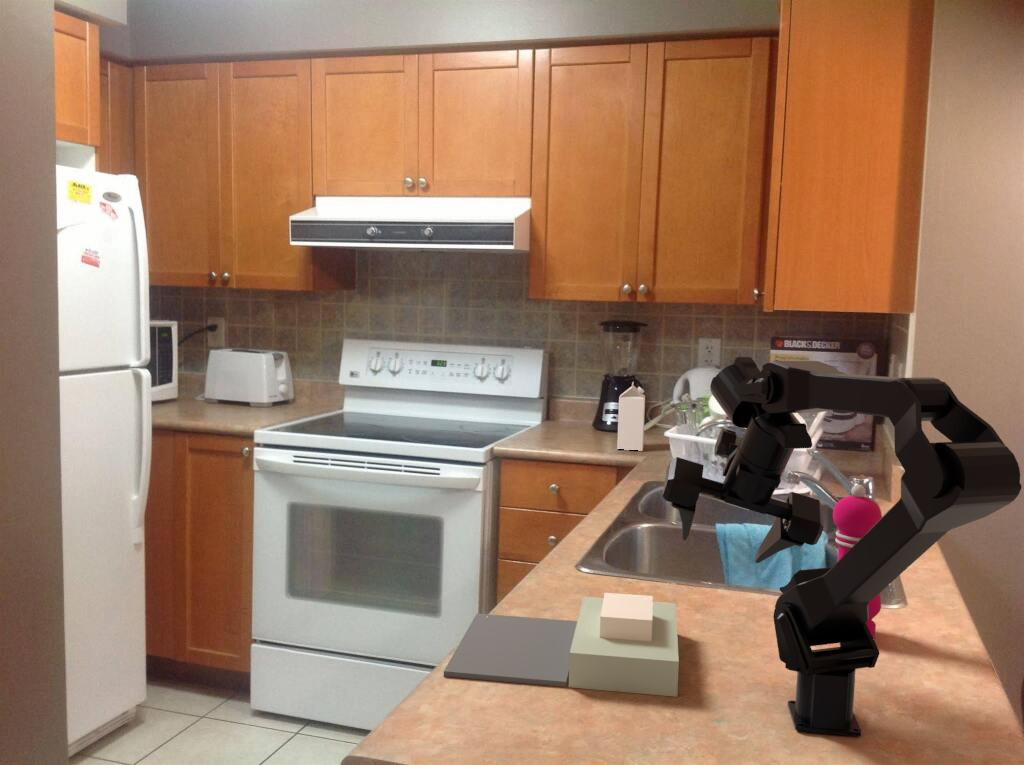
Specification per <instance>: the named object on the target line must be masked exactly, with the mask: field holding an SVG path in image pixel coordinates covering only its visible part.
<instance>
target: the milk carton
mask: <svg viewBox="0 0 1024 765" xmlns="http://www.w3.org/2000/svg"><path fill="white" fill-rule="evenodd" d="M634 383H635V382H634V381H632V383H631V386H630V387H628V388H627V389H626V390H624V392H623V393H621V394H620V395H619V397H618V417H617V441H616V442H617V444H616V445H617V446H616V450H617V449H624V450H623V451H629V450H638V451H637V452H643V451H644V439H645V438H644V437H645V412H646V411H645V410H646V395H645V394H644V393H645V390H644V389H643V388H642V387H640V386H638V387H636V386H635V385H634Z"/></svg>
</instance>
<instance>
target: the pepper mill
mask: <svg viewBox="0 0 1024 765" xmlns="http://www.w3.org/2000/svg"><path fill="white" fill-rule="evenodd" d="M850 491H851V494H852V495H851V496H850V495H849V496H845V497H842V498H840V500H838V502H836V504H835V506H834V507H833V511H832V519H833V523H834V524H835V526H836V527H837V530H836V532H835V535H836V537H835V539H834V540H835V543H836V544H838V547H837V548H838V554H837V562H838V561H839V560H840V559H841V558H842V557H843V556H844V555H845V554H846V553H847V552H848V551H849V550H850V549H851V548H852V547H853V546H854V545H855V544H856V543H857V542H858V541H859V540H860V539H861V538H862V537H863V536H864V535H865V534H866V533H867V532H868V531H869V530H870V529H871V528H872V527H873V526H874V525H875V524H876V523H877V522H878V521H879V520H880V519H881V518H882V517H883V515H882V511H881V509H880V507H879V505H878V504H877V502H875V501H874V500H872V499H871V498H868V497H865V496H866V492H867V489H866V488H865V487H864V486H863V485H861V484H855V485H853V486H852V488H851V490H850ZM837 562H836V563H837ZM881 599H882V598H881V592H880V593H879V594H878V595H877V596H876V597H875V598H873V599H872V600H871V601H870V602H869V604H868V613H869V618H868V621H867V622H866V625H867V627H868V629H869V631H870V633H871V635H872V637H873V639H874V640H875V638H876V628H877V627H876V623H875V621H874V620H873V619H874V618H875V617H876V616H878V614H879V613H880V612H881V609H882V600H881Z"/></svg>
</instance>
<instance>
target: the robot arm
mask: <svg viewBox="0 0 1024 765" xmlns="http://www.w3.org/2000/svg"><path fill="white" fill-rule="evenodd" d="M709 387H710V392H711V395H712V396H713V398H714V399H715V400H716V402H717V403H718V404H719V406H720V408H721V409H722V410H723V412H724V413H725V415H726V416H727V417H728V419H729V421H730V422H731V423H732V424H733V425H734V426H735V427H737V428H741V429H745V431H744V433H743V434H742V437H740V436H738V435H737V433H736V431H734V430H732V429H727V428H724V427H722V428H721V430H720V432H719V434H718V436H717V439H716V442H715V445H714V449H713V450H714V454H715V455H716V456H719V457H722V458H725V460H726V463H725V465H724V466H723V469H722V476H723V477H725V478H724V479H723V483H722V482H718V481H717V480H716V481H715V480H713V479H708V478H705V477H703V475H704V474H703V472H704V466H705V465H704V464H701V463H698V462H695V461H692V460H689V459H685V458H683V457H682V458H681V457H677V456H676V457H674V458H672V459H670V461H669V463H668V466H667V468H666V471H665V477H664V483H663V490H662V498H664V500H665V501H667V502H670V506H671V507H672V508H673V509H677V510H678V512H679V513H678V514H679V516H680V519H681V532H682V540H683V541H685V542H686V541H687V540H688V537H690V533H691V529H692V525H693V521H694V519H695V518H694V517H695V515H696V514H695V513H696V510H697V509H696V508H697V502H698V500H699V497H703V498H706V499H710V500H713V501H717V502H719V503H723V504H726V505H730V506H733V507H736V508H739V509H743V510H745V511H752V512H755V513H759V514H761V515H762V514H763V515H769V516H772V517H775V519H774V522H773V524H772V525H771V527H770V528H769V531H768V532H767V533H766V535H765V537H764V539H763V540H762V542H761V544H760V545H759V547H758V549H757V552H756V554H755V557H754V562H755V564H759V563H761V562H763V561H764V560H765V561H766V560H767V559H768V558H770V557H772V556H773V555H775V554H777V553H779V552H782V551H784V550H786V549H788V548H792V547H794V546H797V547H803V546H804V544H807V545H809V546H814V545H817V544H818V542H819V540H820V538H821V536H822V534H823V531H824V513H823V504H822V503H821V500H820V499H817V498H814V497H812V496H808V495H804V494H801V493H798V492H793V491H791V492H789V493H788V494H787V496H786V499H785V500H783V499H781V498H777V497H774V496H773V495H774V492H775V490H776V489H778V488H779V486H780V483H781V481H782V480H781V478H782V475H783V474H784V471H785V469H786V468H787V465H788V462H789V461H790V459H791V457H792V454H793V453H794V452H793V451H794V450H796V449H799V450H801V449H812V447H813V441H812V438H811V436H810V433H809V431H808V429H807V424H806V423H805V422H804V423H802V422H800V421H799V419H798V418H797V416H795V414H801V413H802V414H804V413H806V414H808V413H809V414H810V413H813V414H814V413H815V414H816V413H823V412H830V411H836V412H844V413H849V414H850V413H851V414H858V415H859V414H860V415H866V416H867V415H868V416H875V417H882V418H887V419H889V420H890V422H891V423H892V426H893V428H894V454H895V456H896V459H897V460H898V462H899V463H900V465H901V467H902V468H903V470H904V472H903V473H902V476H901V478H900V498H899V499H898V500H897V501H896V503H894V504H893V505H892V507H891V508H890V509H888V511H887V512H886V513H885V514H884V515H882V518H881V519H880V520H879V521H878V522H877V523H876V524H875V525H874V526H873V527H872V528H871V529H870V530H869V531H868V532H867V533H866V534H865V535H864V536H863V537H862V538H861V539H860V540H859V541H858V542H857V543H856V544H855V545H854V546H853V547H852V548H851V549H850V550H849V551H848V552H847V553H846V554H845V555H844V556H843V557H842V558H841V559H840V560H839V561H838V562H836V563H835V564H834V565H833V566H831V567H820V568H809V569H800V570H798V571H797V572H796V573H794V574H793V575H792V577H791V579H790V580H789V582H788V583H787V584H786V585H785V586H780V587H779V591H780V592H781V594H780V595H779V596H778V597H777V600H776V602H775V605H774V612H773V615H772V616H773V624H774V629H775V630H774V631H775V637H776V643H777V651H778V656H779V657H778V658H779V661H781V662H782V663H784V664H785V666H784V667H785V669H787V670H788V671H791V672H792V671H793V672H797V674H796V689H795V691H796V693H795V700H791V699H790V700H788V701H787V708H788V712H789V714H790V717H791V718H790V719H791V720H792V723H793V726H794V729H795V730H796V731H799V732H807V733H818V734H827V735H839V736H852V737H861V736H862V729H861V727H860V725H859V722H858V721H857V720H858V719H856V716H855V713H854V702H855V701H854V698H855V686H856V682H855V681H856V671H857V669H864V668H869V669H872V668H875V667H876V664H877V661H878V659H879V656H880V649H879V647H878V646H877V644H876V641H875V638H874V639H873V637H872V635H871V633H870V631H869V629H868V627H867V625H866V622H867V621H868V618H869V613H868V604H869V602H870V601H871V600H872V599H873V598H875V597H876V596H877V595H878V594H879V593H880V594H881V593H882V592H883V591H884V590H885V589H886V588H887V587H888V586H889V585H890V584H891V583H893V581H895V580H896V579H897V578H898V577H899V576H900V575H901V574H902V573H904V572H905V571H906V570H907V569H908V568H909V567H910V566H911V565H913V563H915V562H916V561H917V560H918V559H920V557H921V556H923V555H924V554H925V553H926V552H927V551H928V550H929V549H930V548H932V547H933V545H935V544H936V543H937V542H938V541H939V540H940V539H941V538H943V537H944V536H945V535H946V534H947V533H948V532H950V531H951V530H953V529H957V528H959V527H961V526H965V525H967V524H971V523H973V522H976V521H979V520H981V519H984V518H986V517H989V516H990V515H992V514H994V513H996V512H997V511H999V510H1001V509H1003V508H1004V507H1006V506H1008V505H1010V504H1011V503H1013V502H1014V501H1015V500H1016V498H1017V497H1019V494H1020V492H1021V490H1022V484H1021V471H1020V466H1019V462H1018V461H1017V458H1016V456H1015V455H1014V453H1013V452H1012V451H1011V449H1009V447H1008V446H1006V445H1005V443H1004V441H1003V440H1002V439H1001V437H1000V436H999V434H998V433H997V431H996V430H995V429H994V427H993V426H992V425H991V424H989V423H988V422H987V421H986V420H984V419H983V418H982V417H980V416H979V415H978V414H977V413H975V411H973V410H971V408H969V407H968V406H966V405H965V404H964V403H962V402H961V401H960V400H959V399H958V397H957V396H956V394H955V393H954V391H953V390H952V388H951V386H950V385H949V384H947V383H946V382H945V381H942V380H940V379H939V378H935V377H895V376H894V377H893V376H883V375H881V376H880V375H868V374H867V375H866V374H855V373H854V374H853V373H845V372H842V371H839V369H838V368H837V367H836V366H833V365H831V364H828V363H825V362H822V361H820V360H769V361H766V362H764V363H763V365H762V369H761V370H760V369H759V367H758V365H757V364H756V362H755V360H754V359H753V357H751V356H737V357H735V360H734V361H733V364H731V365H728V366H726V367H724V368H723V369H721V370H720V371H719V372H718V373H717V374H716V376H714V377H713V378H712V380H711V382H710V386H709ZM923 422H930V423H931V425H932V426H933V428H934V429H936V431H938V432H939V433H940V434H942V435H943V436H945V438H947V439H948V441H944V442H943V441H942V442H941V441H940V442H939V441H938V442H930V440H929V439H928V437H927V435H926V433H925V432H924V431H923V428H922V427H923V426H922V424H923ZM949 440H950V441H949ZM831 644H832V645H834V644H839V646H835V647H825V648H818V649H812V647H816V646H823V645H824V646H825V645H831Z"/></svg>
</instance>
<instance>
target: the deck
mask: <svg viewBox="0 0 1024 765" xmlns="http://www.w3.org/2000/svg"><path fill="white" fill-rule="evenodd" d="M603 599H604V597H597V596H596V597H595V596H594V597H593V596H583V597H582V601H581V606H580V610H579V613H578V618H577V620H576V621H577V625H576V629H575V633H574V637H573V641H572V645H571V649H570V658H569V676H568V688H573V689H583V690H585V689H587V690H595V691H596V690H597V691H606V692H607V691H608V692H609V691H610V692H619V693H631V694H641V695H642V694H643V695H652V696H665V697H676V698H677V697H678V689H679V687H678V686H679V663H680V660H679V642H678V641H679V639H678V624H677V623H678V622H677V608H676V607H677V605H676V603H675V602H662V601H653V615H652V641H640V640H628V639H615V638H602V637H600V616H601V610H602V605H603Z"/></svg>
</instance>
